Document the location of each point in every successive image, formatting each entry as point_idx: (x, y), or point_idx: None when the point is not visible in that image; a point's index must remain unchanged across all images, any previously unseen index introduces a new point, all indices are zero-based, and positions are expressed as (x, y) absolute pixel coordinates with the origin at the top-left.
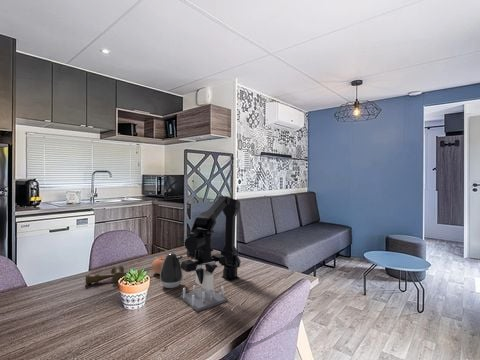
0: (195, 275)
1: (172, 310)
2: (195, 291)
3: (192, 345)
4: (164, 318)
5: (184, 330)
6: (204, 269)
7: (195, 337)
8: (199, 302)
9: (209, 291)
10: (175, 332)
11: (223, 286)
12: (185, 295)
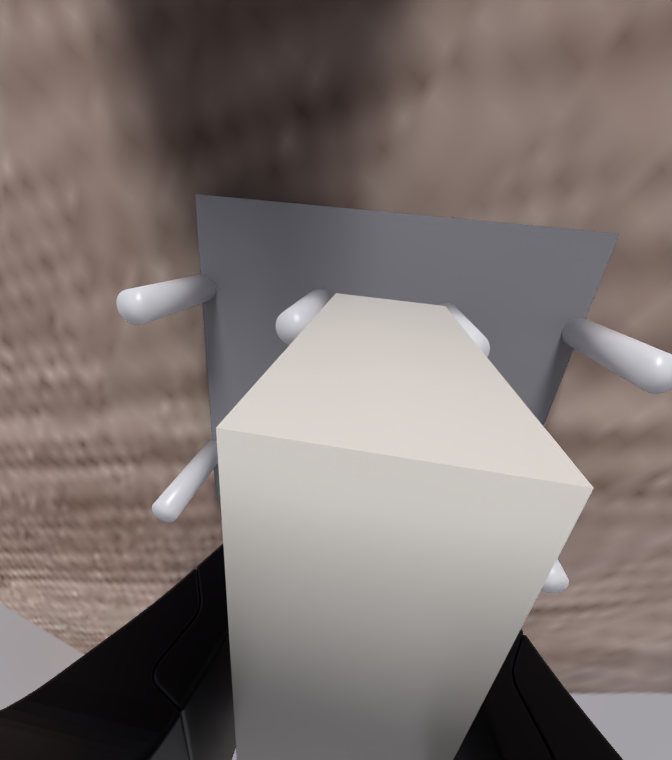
0: (307, 325)
1: (81, 362)
2: (388, 229)
3: (97, 629)
4: (16, 411)
5: (95, 557)
6: (462, 733)
7: (123, 612)
8: None
9: (506, 348)
10: (53, 542)
11: (556, 589)
12: (240, 242)
